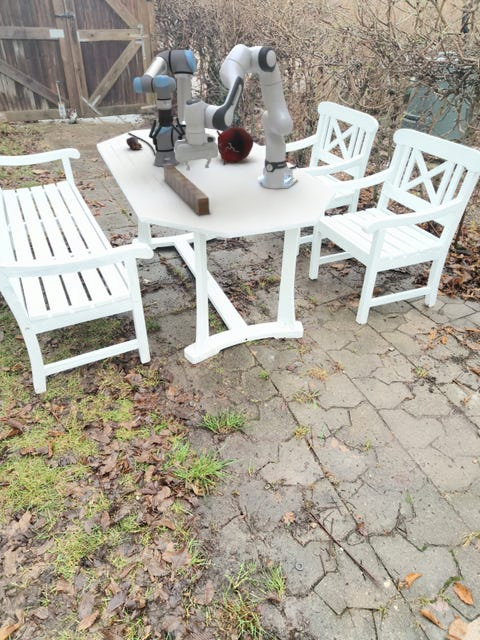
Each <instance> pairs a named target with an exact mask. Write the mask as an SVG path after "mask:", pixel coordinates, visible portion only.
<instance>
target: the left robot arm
mask: <svg viewBox="0 0 480 640" xmlns="http://www.w3.org/2000/svg"><path fill="white" fill-rule="evenodd" d="M165 73H173V76H174V78H176V80H175V79H174V78H173V77H171V76H169V75H166V74H165ZM195 73H197V61H196V57H195V54H194V51H192V50H190V49H167V50H163V51H161V52H159V53H157V54H156V55H155V56H154V57H153V58H152V60H151V62H150V66H148V68H147V69H146V71H145V72H144V73H143V75H142V76H141V77H140V76H138V77H134V79H133V89H134V91H135V93H136V94H155V95H156V106H157V108H158V109H157V116H158V119H156V118H152V124H151V128H150V130H149V134H148V138H149V139H151V140H152V145H151V144H150V143H149V142H148V141H147V140H145V139H143V138H141V137H139V136H136V135H135V134H133V133H130V132H127V134H128V135H131V137H137V139H139V140H141V141H142V142H144V143H146V144H147V145H148V146H149V147H150V148H151V150H152V152H153V155H154V165H155V166H157V167H163V166H169V165H173V166H174V167H175V166H177V165H178V164H179V162H178V161H177V160H176V159H175V148H174V143H175V142H176V141H177V140H184V139H186V123H185V114H184V110H185V103H186V101H187V100H189V99H192V79H193V77H194V74H195ZM175 90H176V99H177V100H176V101H177V116H175V117H174V115H173V109H172V106H173V105H172V96H171V94H172V93H173V92H174V91H175ZM174 122H175V125H174V124H173V123H174ZM158 123H159V124H158ZM157 124H158V126H157ZM176 143H177V142H176ZM153 146H154V147H153ZM154 148H155V149H154ZM163 168H164V167H163Z"/></svg>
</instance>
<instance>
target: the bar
mask: <svg viewBox="0 0 480 640" xmlns="http://www.w3.org/2000/svg"><path fill="white" fill-rule="evenodd" d="M163 176H164V181H165V182H166V184H168V185H169V186H170V187H171V189H172V190H174V192H176V194H177V195H178V196H179V197H180V198H181V199H182V200H183V201H184V202H185V203H186V204H187V205H188V206H189V207H190V208H191V209H192V210H193V211H194V212H195V213H196V214H197V215H198V216H205V215H210V198H209V196H208V195H206V193H204V192H203V191H202V190H201V189H200V188H199V187H197V186H196V185H195V183H193V182H192V181H191V180H190V179H189V178H188V177H186V176H185V175H184V174H183V173H182V172H181V171H179V169H177V168H176V167H175V165H174V166H173V165H169V166H163Z"/></svg>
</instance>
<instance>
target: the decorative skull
mask: <svg viewBox="0 0 480 640" xmlns="http://www.w3.org/2000/svg"><path fill="white" fill-rule="evenodd" d="M216 133H217V147H218V154H219V155H220V157H221V160H223V162H222V163H223V165H225V164H226V162H231V163H232V162H233V163H236V162H241V161H243V160H245V159H247V158H248V157H249V155H250V153H251V152H252V149H253V147H254V138H253V137H252V135H251V134H250V133H249V132H248V131H247V130H246V129H244V128H242V127H239V126H231V127H230V128H229V129H228V130H226V131H221V132H220V130H217V129H216Z"/></svg>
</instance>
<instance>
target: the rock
mask: <svg viewBox="0 0 480 640" xmlns="http://www.w3.org/2000/svg"><path fill="white" fill-rule="evenodd" d="M137 137H138V136H137ZM137 137H134V136H130V137H128V138H126V140H125V142H126V144H127V146H128V147H129V149H131V150H141V149H143V146H142V143H140V142H139V140H138V139H139V138H137Z"/></svg>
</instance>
